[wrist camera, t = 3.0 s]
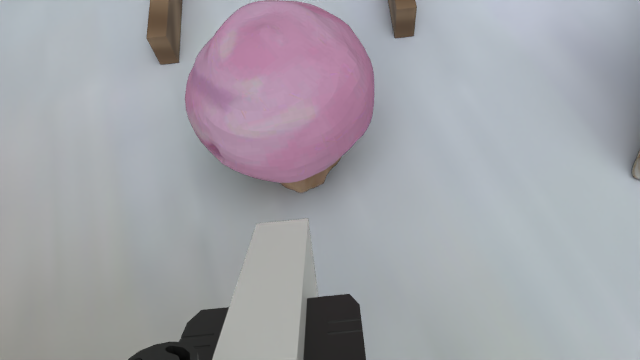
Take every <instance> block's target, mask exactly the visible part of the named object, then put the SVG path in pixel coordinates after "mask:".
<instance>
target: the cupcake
mask: <svg viewBox="0 0 640 360" xmlns="http://www.w3.org/2000/svg"><path fill="white" fill-rule="evenodd" d="M185 103H186V111H187V115H188V118H189V121H190V123H191V125H192V127H193V129H194V131H195V133H196V135H197V136H198V138H199V139H200V141H201V142H202V143H203V144H204V145H205V146H206V148H207V149H208V150H209V151H210V152H211V153H212V154H213V155H214V156H215V157H216V158H217V159H218V160H219V161H220V162H221V163H222V164H224V165H226V166H228V167H229V168H231V169H233V170H235V171H238V172H240V173H242V174H245V175H248V176H250V177H253V178H257V179H262V180H266V181H271V182H278V183H281V184H282V185H283V186H285V187H286V188H289V189H292V190H295V191H296V192H300V193H303V192H305V191H307V190H309V189H311V188H315V187H317V186H319V185H321V184H323V183H324V181H325V178H326V176H327V174H328V173H329V171H330V170H331V169H332V168H333V167H334V166H335V165H336V164H337V163H338V162H339V160H340V158H341V157H342V155H344V154H345V153H346V152H347V151H348V150H349V149H350V148H351V147H352V146H353V145H354V143H355V142H356V141H357V140H358V139H359V138H360V137H361V136H362V135H363V134H364V133H365V131H366V130H367V128H368V126H369V124H370V121H371V118H372V114H373V106H374V74H373V68H372V64H371V61H370V58H369V57H368V55H367V53H366V51H365V49H364V47H363V45H362V44H361V42H360V40H359V39H358V38H357V36H356V35H355V33H354V32H353V31H352V29H351V28H350V27H349V25H347V24H346V23H345V22H343V21H342V20H341V19H339V18H338V17H336V16H334V15H332V14H330V13H329V12H327V11H325V10H323V9H321V8H319V7H316V6H314V5H311V4H308V3H302V2H296V1H279V0H265V1H258V2H253V3H250V4H247V5H245V6H243V7H241V8H240V9H238V10H237V11H236V12H234V13H233V14H232V15H231V16H230V17H229V18H228V19H227V20H226V21H225V22H224V23H223V25H222V26H221V27H220V28H219V29H218V31H217V32H216V33H215V35H214V36H213V37H212V38H211V39H210V40H209V41H208V42H207V44H206V45H205V46H204V47H203V48H202V50H201V51H200V52H199V54H198V55H197V58H196V60H195V63H194V66H193V68H192V70H191V72H190V74H189V77H188V81H187V86H186V94H185Z"/></svg>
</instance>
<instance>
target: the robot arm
mask: <svg viewBox="0 0 640 360" xmlns="http://www.w3.org/2000/svg"><path fill="white" fill-rule="evenodd" d="M128 360H366V356H365V348H364V339H363V331H362V322H361V314H360V305H359V304H358V303H357V302H356V300H355V299H354V298H353V297H352V296H351V295H350V294H345V295H334V296H324V297H318V290H317V282H316V275H315V267H314V259H313V251H312V244H311V236H310V228H309V220H308V218H306V219H296V220H287V221H277V222H267V223H258V224H256V226H255V229H254V232H253V235H252V238H251V241H250V245H249V248H248V251H247V254H246V257H245V260H244V263H243V266H242V269H241V272H240V275H239V278H238V281H237V285H236V288H235V291H234V294H233V297H232V300H231V303H230V306H229V307H228V308H217V309H207V310H201V311H200V312H199V313H198V314H197V315H195V316H194V317H193V318H192V319H191V320H190V321H189V322H188V323H187V325H186V327H185V330H184V332H183V334H182V336H181V339H180V341H179V342H166V343H161V344H156V345H153V346H151V347H148V348H146V349H143V350H141V351H139V352H138V353H136V354H135V355H133V356H132V357H130V358H129V359H128Z"/></svg>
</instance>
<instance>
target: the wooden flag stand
mask: <svg viewBox="0 0 640 360" xmlns="http://www.w3.org/2000/svg"><path fill="white" fill-rule="evenodd" d="M388 3H389V9H390V14H391V20H392V25H393V31H394V36H395V38H401V37H410V36H414V28H415V18H416V9H417V6H416V2H415V0H388ZM181 15H182V0H150V7H149V18H148V29H147V40H148V42H149V44H150V45H151V47H152V49H153V51H154V53H155V55H156V57H157V59H158V61H159V62H160V64H170V63H179V50H180V32H181Z"/></svg>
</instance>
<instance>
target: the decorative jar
mask: <svg viewBox="0 0 640 360" xmlns="http://www.w3.org/2000/svg"><path fill="white" fill-rule="evenodd" d="M632 175H633V177H635V178H637V179H640V150H639V153H638V156H637V159H636V161H635V163H634V165H633V169H632Z"/></svg>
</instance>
